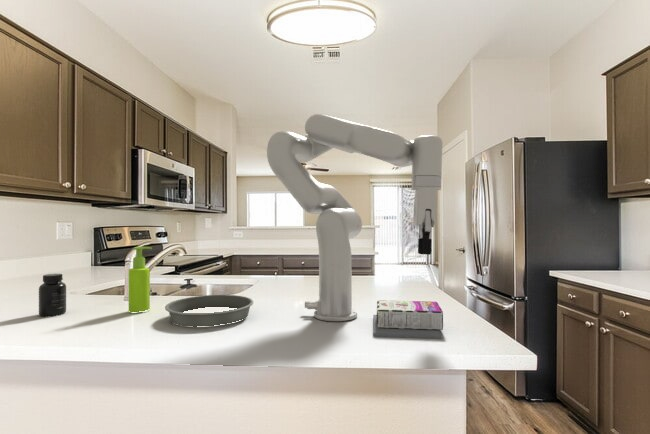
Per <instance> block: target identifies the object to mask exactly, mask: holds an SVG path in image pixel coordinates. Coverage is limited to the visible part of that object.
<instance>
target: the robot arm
mask: <svg viewBox="0 0 650 434" xmlns="http://www.w3.org/2000/svg"><path fill="white" fill-rule="evenodd" d="M304 131H305V134H306V135H304V136H303V135H300V134H297V133H294V132H292V131H287V130H280V131H276V132H274V133H273V134H272V135H271V136H270V138H269V139H268V142H267V148H266V158H267V163H268V165H269V167H270V169H271V171H272V172H273V174H274V175H275V176H276V177H277V179H278V180H279V181H280V182H281V183H282V185H283V186H284V187H285V188H286V190H287V191H288V192H289V193H290V194H291V196H292V197H293V198H294V199H295V201H296V202H297V203H298V205H299V206H300V207H301V208H302V209H303V210H304V211H305V212H306V213H309V214H315V215H318V217H317V219H316V223H315V231H316V237H317V245H318V288H319V289H318V297H319V298H318V300H315V301H308V300H307V301H304V309H306V310H314V311H313V316H314V318H316V319H318V320H320V321H325V322H345V321H351V320H353V319H356V318H357V317H358V312H357V310H354V309H353V307H352V305H353V303H352V302H353V301H352V300H353V297H352V295H353V294H352V293H353V292H352V291H353V288H352V283H353V282H352V281H353V280H352V279H353V277H352V276H353V275H352V273H353V272H352V270H353V269H352V264H353V263H352V247H351V243H350V240H351V239H353V238H356V237H357V236H358V235H359V234H360V233H361V231H362V228H363V222H362V221H363V220H362V218H361V216H360V214H359V213H358V211H357V210H356V209H355V207H353V206H352V204H351V203H350V202H349V201H348V200H347V199H346V197H344V195H343V194H342V193H341V192H340V191H339V190H338V189H336V187H334V186H332V185H330V184H325V183H322V182H319V181H318V180H317V179H316V178H315V177H314V176H313V175H312V174H311V173H310V172H309V170H308V169H307V168H306V167H305V166H304V165H303V164H304V163H308V162H311V161H312V160H314V159H317V158H318V157H320V156H321V155H323V154H325V153H327V152H329V151H331V150H332V149H336V150H340V151H342V152H346V153H349V154H353V153H357V154H361V155H364V156H367V157H371V158H374V159H376V160H380V161H383V162H385V163H389V164H391V165H392V166H395V167H398V168H403V167H404V168H405V167H410V166H411V190H413V191H415V192H414V199H413V200H414V201H413V218H412V219H413V220H412V225H413V226H414V227H416V228H418V239H417V254H418V255H432V231H433V229H432V228H435V226H436V224H437V214H438V213H437V211H438V210H437V209H438V208H437V207H438V205H437V204H438V198H437V197H438V191H441V190H442V176H443V175H442V173H443V171H442V170H443V166H442V165H443V140H442V138H441V137H440V136H438V135H427V134H426V135H420V136H417V137H415V138H414V140H410V139H407V138H406V137H403V135H400V134H398V133H395V132H392V131H388V130H385V129H381V128H377V127H375V126H370V125H365V124H361V123H356V122H353V121H349V120H346V119H342V118H338V117H334V116H330V115H329V114H328V115H327V114H322V113H315V114H313V115H310V116H309V117H308V119H307V120H306V121H305V125H304Z"/></svg>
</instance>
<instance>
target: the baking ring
mask: <svg viewBox="0 0 650 434" xmlns="http://www.w3.org/2000/svg"><path fill="white" fill-rule="evenodd" d="M253 305H254V300H253V299H252V298H250V297H247V296H243V295H236V294H235V295H233V294H208V295H206V294H205V295H199V296H190V297H185V298H184V297H183V298H181V299H180V298H179V299H176V300H173V301H170V302H169V303H167V304H166V305H165V307H164V308H165V309H164V310H165V311H167V312H168V313H169V316H170V321H171V323H172V322H173V323H175V324H178V325H182V326H181V327H183V326H193V327H192V328H196V327H197V326H214V325H220V324H227V323H232V322H236V321H239V320H242V319H244V318H246V317H247V316H249V313H250V307H251V306H253ZM205 307H229V308H237V309H234V310H229V311H223V312H214V313H183V312H184V311H188V310H193V309H198V308H205ZM247 318H248V317H247ZM247 318H246V319H247ZM244 320H245V319H244ZM242 321H243V320H242ZM173 323H172V324H173ZM175 324H174V325H175ZM178 325H177V326H178Z"/></svg>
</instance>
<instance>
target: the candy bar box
mask: <svg viewBox="0 0 650 434" xmlns="http://www.w3.org/2000/svg"><path fill="white" fill-rule="evenodd" d="M376 315H377V328H397V329H425V330H439V331H443V330H444V311H443V309H442V308H441V306H440V304H439V303H438V302H437V301H425V300H423V301H419V300H390V299H389V300H388V299H387V300H385V299H383V300H381V299H377V300H376Z"/></svg>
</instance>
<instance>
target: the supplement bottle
mask: <svg viewBox="0 0 650 434" xmlns="http://www.w3.org/2000/svg"><path fill="white" fill-rule="evenodd" d="M63 280H64V279H63V274H62V273H47V274H44V275H43V276H42V282H43V283H41V285H39V287H38V315H39V316H40V317H43V318H49V317H48V316H51V317H57V316H56V315H58V316H60V315H61V314H62V315H64V314H66V312H67V285H66V283H65V282H63ZM62 315H61V316H62ZM46 316H47V317H46Z"/></svg>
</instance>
